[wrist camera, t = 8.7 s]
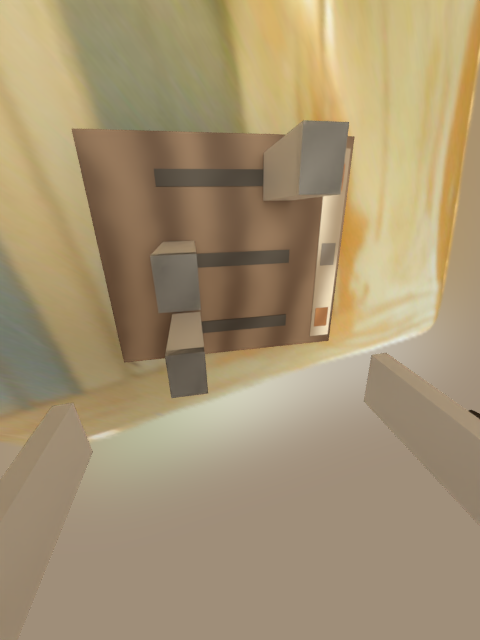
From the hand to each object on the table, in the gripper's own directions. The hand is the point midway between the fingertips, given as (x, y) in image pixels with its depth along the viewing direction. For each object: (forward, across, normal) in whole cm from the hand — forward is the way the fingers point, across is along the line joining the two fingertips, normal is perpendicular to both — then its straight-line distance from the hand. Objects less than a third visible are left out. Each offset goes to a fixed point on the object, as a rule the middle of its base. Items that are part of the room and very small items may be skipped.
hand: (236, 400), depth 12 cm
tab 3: (+18, +8, +11) cm, 22 cm away
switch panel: (+20, +3, +3) cm, 21 cm away
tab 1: (+18, -2, +3) cm, 18 cm away
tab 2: (+18, -3, -4) cm, 18 cm away
